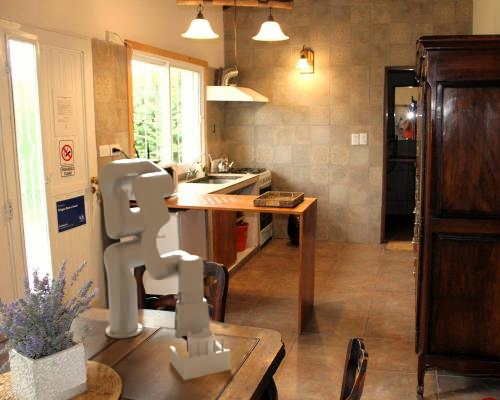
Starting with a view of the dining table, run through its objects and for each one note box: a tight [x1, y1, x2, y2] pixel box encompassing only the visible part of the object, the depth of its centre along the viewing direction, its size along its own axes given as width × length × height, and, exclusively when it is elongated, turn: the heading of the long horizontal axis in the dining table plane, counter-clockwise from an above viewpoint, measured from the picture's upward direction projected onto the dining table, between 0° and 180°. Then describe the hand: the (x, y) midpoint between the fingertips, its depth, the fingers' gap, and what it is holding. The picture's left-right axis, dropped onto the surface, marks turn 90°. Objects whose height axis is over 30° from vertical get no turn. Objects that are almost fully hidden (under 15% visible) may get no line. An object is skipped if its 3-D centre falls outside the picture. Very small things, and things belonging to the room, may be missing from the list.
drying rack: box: [169, 337, 232, 381], centre depth 162 cm, size 13×14×10 cm
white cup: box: [187, 328, 215, 357], centre depth 162 cm, size 8×8×10 cm
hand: (192, 353), depth 168 cm, fingers closed
